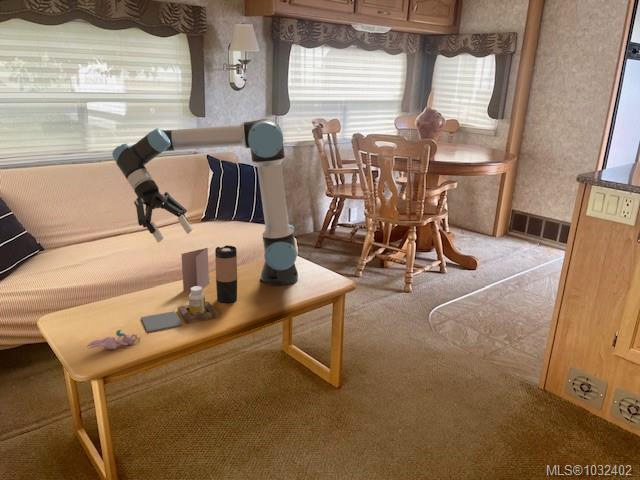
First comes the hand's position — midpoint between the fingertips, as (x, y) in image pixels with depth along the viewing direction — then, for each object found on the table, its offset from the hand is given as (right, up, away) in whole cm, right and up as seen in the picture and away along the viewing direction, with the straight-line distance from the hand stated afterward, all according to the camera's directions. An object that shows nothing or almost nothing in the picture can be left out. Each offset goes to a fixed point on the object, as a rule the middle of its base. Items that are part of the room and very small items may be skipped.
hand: (175, 236), depth 174 cm
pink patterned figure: (-13, -34, -20) cm, 42 cm away
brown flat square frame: (+7, -27, +3) cm, 28 cm away
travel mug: (+15, -24, +15) cm, 32 cm away
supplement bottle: (+7, -27, +3) cm, 28 cm away
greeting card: (+3, -21, +24) cm, 32 cm away
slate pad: (-4, -29, -4) cm, 29 cm away
